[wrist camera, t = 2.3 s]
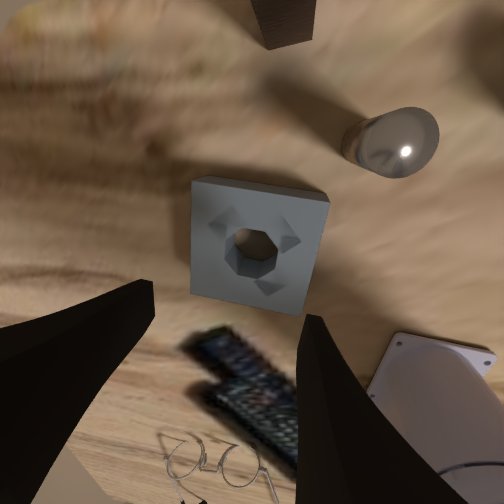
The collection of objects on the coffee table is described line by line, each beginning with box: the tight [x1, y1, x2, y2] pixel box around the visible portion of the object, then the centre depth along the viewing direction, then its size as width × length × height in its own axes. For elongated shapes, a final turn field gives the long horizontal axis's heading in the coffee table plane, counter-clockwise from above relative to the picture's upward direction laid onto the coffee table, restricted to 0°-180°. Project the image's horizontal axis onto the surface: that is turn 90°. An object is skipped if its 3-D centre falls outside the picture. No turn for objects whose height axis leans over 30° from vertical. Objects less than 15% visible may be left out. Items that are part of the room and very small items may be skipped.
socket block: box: [190, 175, 330, 317], centre depth 19 cm, size 9×9×3 cm
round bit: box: [341, 107, 439, 178], centre depth 13 cm, size 3×3×7 cm
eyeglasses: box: [163, 441, 279, 504], centre depth 35 cm, size 16×19×5 cm
